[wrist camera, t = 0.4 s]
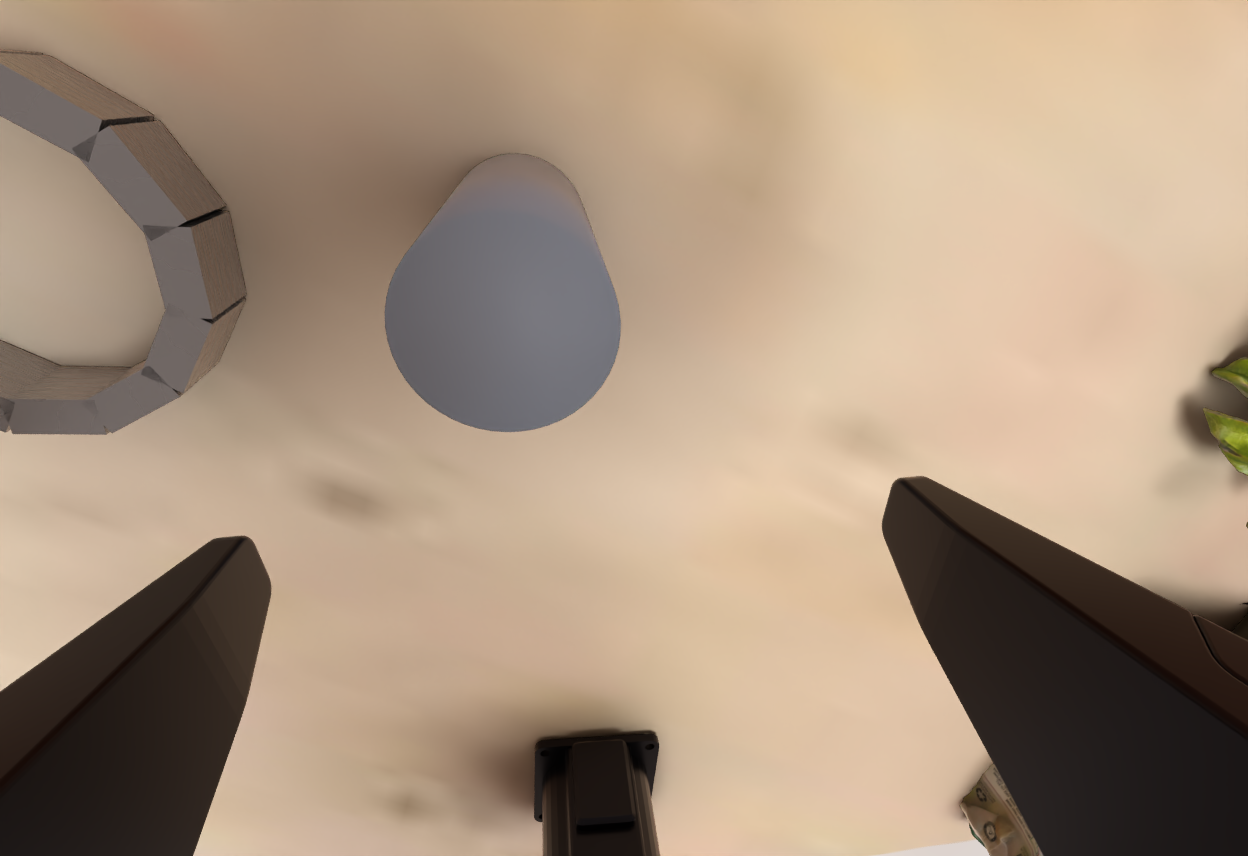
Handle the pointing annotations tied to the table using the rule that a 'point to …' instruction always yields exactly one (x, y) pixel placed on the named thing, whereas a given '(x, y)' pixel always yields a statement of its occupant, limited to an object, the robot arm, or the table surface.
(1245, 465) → the green succulent plant
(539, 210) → the slate-blue peg
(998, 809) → the dark olive boxy piece
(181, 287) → the steel ring
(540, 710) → the table surface
